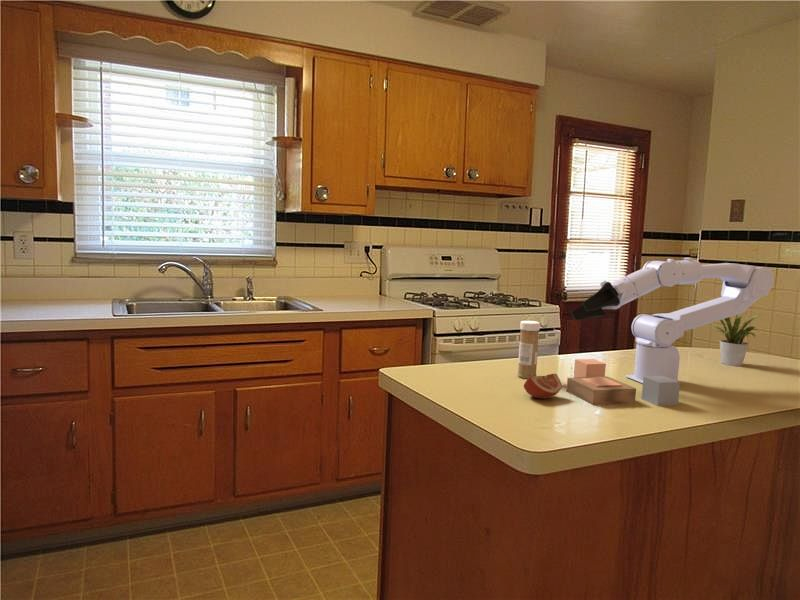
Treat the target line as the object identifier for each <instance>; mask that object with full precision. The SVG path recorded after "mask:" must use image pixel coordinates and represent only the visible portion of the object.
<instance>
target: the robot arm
mask: <svg viewBox="0 0 800 600" xmlns="http://www.w3.org/2000/svg"><path fill="white" fill-rule="evenodd" d="M702 279H720V280H721V281H723V282H722V286H721V292H720V296H721V297H717V298H713V299H711V300H707V301H704V302H701V303H698V304H694V305H691V306H688V307H684V308H681V309H678V310H675V311H671V312H667V313H666V312H664V313H653V314H646V313H643V314H639V315H637V316H635V317H634V318H633V321H632V323H631V327H630V328H631V332H632V335H633V336H634V337H635V342H636V346H635V358H634V359H635V361H634V370H633V371H634V372H633V374H626V375H625V377H626V378H629V379H631V380H633V381H636V382H638V383H640V384H643V377H644V376H665V377H668V378H671V379H673V380H676V381H679V379H678V378H679V369H680V368H679V367H680V357H681V356H680V352H679V349H678V348H677V346H675V345H673V344H674V343H675V342H676V341H677V340H678V339H680V338H683V337H684V333H685V332H686V331H690V330H694V329H696V328H699V327H703V326H705V325H708V324H713V323H716V322H719V321H720V320H724V319H725V318H728V317H734V316H736V315H737V314H738V315H739V314H740V315H741V314H744V313H745V312H746V311H747V309H748V308H750V307H751V306H752V305H753V304H754V303H755V302H756V301H757V300H759V299H760V298H763V297H766V296H768V295H769V294H770V292H771V291H772V287H773V285H774V282H775V276H774V273H773V271H772V270H771V269H770V268H769V267H766V266H757V265H749V264H740V263H729V262H722V263H710V264H701V262H700V261H698V260H696V259H694V258H693V257H684V259H682V260H675V259H674V258H668V259H667V260H666V261H663V260H647V262H645V264H644V265H643V267H642V268H640V269H639V270H636V271H634V272H632V273H629V274H627V275H626V276H623V277H621V278H619V279H617V280H615V281H613V282H610V281H606V280H603V281H601V282H600V286H601V288H600V289H598V291H597V292H595V293H593V294H592V295H590V296H589V297H588V298H587V299H585V301H583V302H582V303H581V305H580V306H579V307H577V308H575V310H573V311H571V313H570V314H571V316H572V318H573V319H574V321H575V322H576V321H582V320H586V319H591V318H598V319H599V318H603V317H604V316H605V315H606V313H605V312H604V310H617V309H620V308H621V307H622V306H624V305H626V304H628V303H630V302H632V301H634V300H637V299H638V298H640V297H642V296H644V295H646V294H649V293H651V292H653V291H654V290H657V289H659V288H660V287H661V286H662V287H670V288H673V287H674V286H675V285H678V286H679V285H694V284H698V283H700V281H702Z"/></svg>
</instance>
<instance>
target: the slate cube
mask: <svg viewBox="0 0 800 600" xmlns="http://www.w3.org/2000/svg"><path fill="white" fill-rule="evenodd" d="M680 385H681V381H679V380H677V381H676V380H673V379H671V378H668V377H665V376H644V377H643V383H642V388H641V400H642V401H644V402H648V403H650V404H652V405H654V406H656V407H662V406H663V407H665V406H666V405H668V406H678V405H679V396H680V387H681V386H680Z"/></svg>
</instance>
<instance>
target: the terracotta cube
mask: <svg viewBox="0 0 800 600" xmlns="http://www.w3.org/2000/svg"><path fill="white" fill-rule="evenodd" d="M606 365H607V364H606V363H605V362H602V361H600V360H598V359H595V358H582V359H580V358H577V359H574V368H573V378H575V377H604V376H606V367H607V366H606Z"/></svg>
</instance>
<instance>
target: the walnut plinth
mask: <svg viewBox="0 0 800 600" xmlns="http://www.w3.org/2000/svg"><path fill="white" fill-rule="evenodd" d="M566 378H567V380H566V392H567V393H568V394H570V395H572V396H575V397H577V398H579V399H580V400H582V401H584V402H585V403H588V404H590V405H591V406H596V405H597V406H599V405H602V406H603V405H621V404H622V405H623V404H624V405H625V404H635V403H636V393H637V388H636V387H633V386H631V385H629V384H627V383H624V382H622V381H620V380H617V379H614V378H612V377H610V376H608V375H607V376H606V375H605V376H604V377H575V378H574V377H566Z"/></svg>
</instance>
